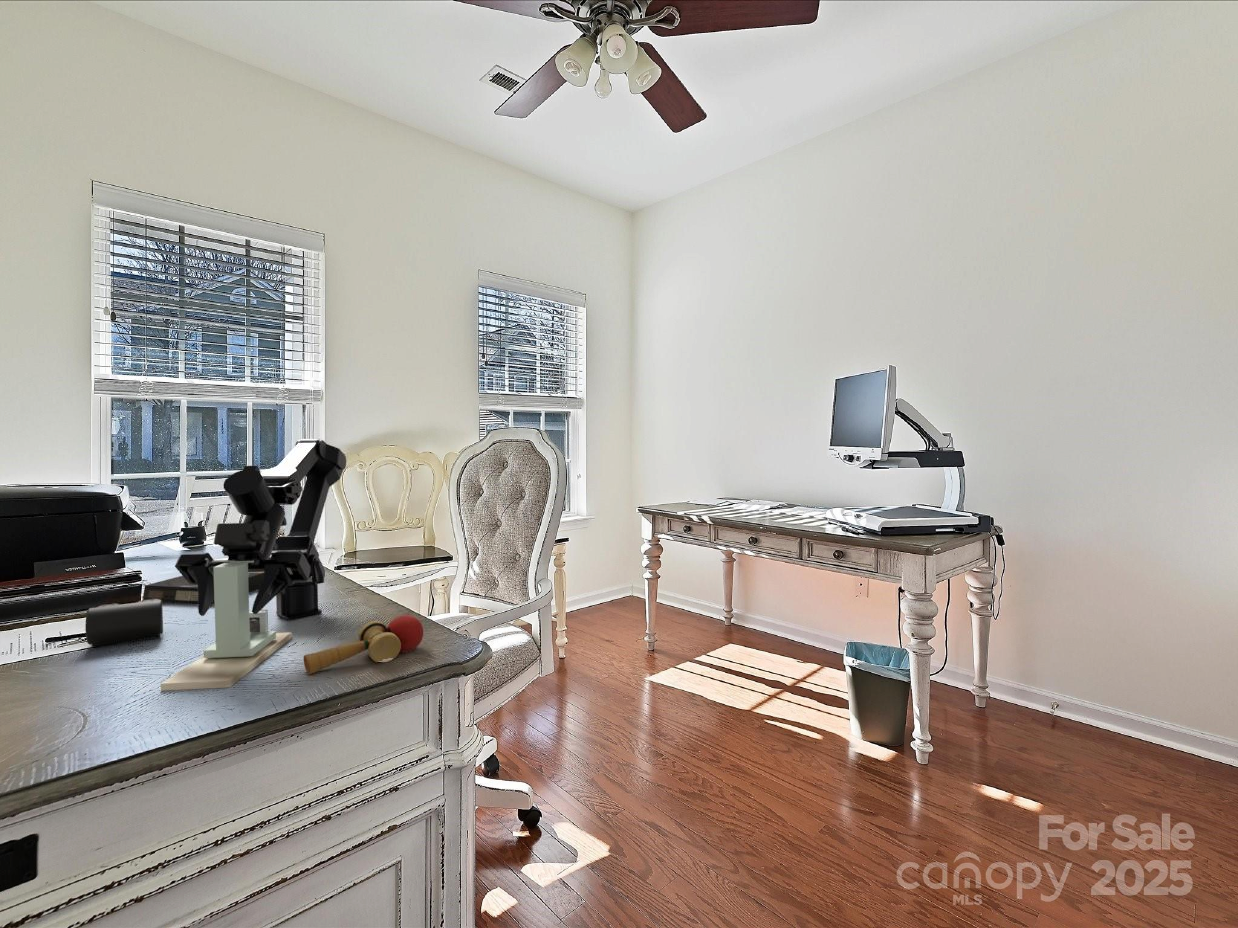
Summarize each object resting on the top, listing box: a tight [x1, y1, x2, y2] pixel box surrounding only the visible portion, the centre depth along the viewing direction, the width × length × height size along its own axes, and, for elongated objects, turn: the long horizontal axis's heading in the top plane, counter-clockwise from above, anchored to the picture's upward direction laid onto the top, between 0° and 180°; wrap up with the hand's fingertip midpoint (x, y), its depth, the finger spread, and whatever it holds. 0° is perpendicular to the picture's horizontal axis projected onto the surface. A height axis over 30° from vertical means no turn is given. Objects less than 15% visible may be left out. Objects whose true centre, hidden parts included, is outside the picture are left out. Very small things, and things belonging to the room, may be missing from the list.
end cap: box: [85, 598, 164, 648], centre depth 104 cm, size 10×7×7 cm
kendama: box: [303, 614, 424, 675], centre depth 95 cm, size 8×6×18 cm
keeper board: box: [160, 609, 293, 692], centre depth 94 cm, size 21×9×6 cm, turn 7°
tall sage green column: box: [203, 562, 277, 658], centre depth 97 cm, size 8×7×14 cm
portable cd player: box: [142, 573, 264, 606], centre depth 135 cm, size 16×17×4 cm
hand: (227, 613), depth 93 cm, fingers open, 7 cm apart
